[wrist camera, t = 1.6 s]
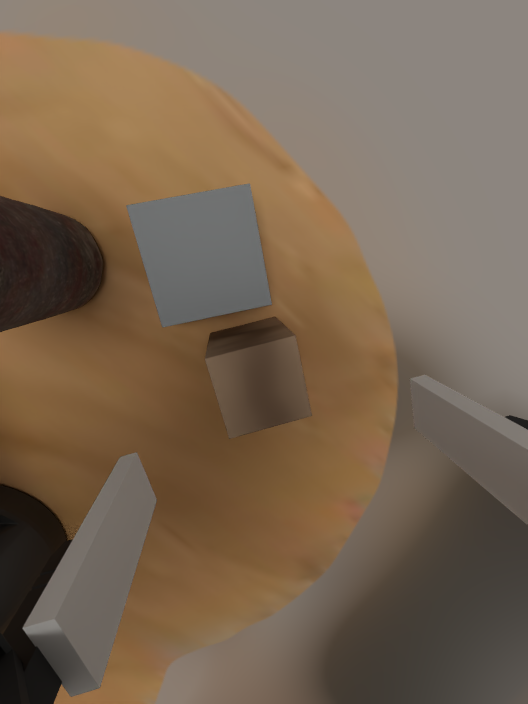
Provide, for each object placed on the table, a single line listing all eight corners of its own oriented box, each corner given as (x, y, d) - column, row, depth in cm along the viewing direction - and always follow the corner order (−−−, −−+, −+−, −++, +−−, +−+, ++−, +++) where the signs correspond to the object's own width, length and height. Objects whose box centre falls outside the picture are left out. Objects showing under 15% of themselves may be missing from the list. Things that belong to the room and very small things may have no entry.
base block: (173, 316, 26) (162, 327, 21) (146, 218, 23) (126, 205, 19) (263, 298, 26) (271, 304, 21) (244, 200, 24) (250, 183, 19)
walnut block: (227, 392, 28) (229, 438, 20) (210, 333, 26) (204, 359, 19) (288, 376, 28) (311, 415, 21) (275, 316, 27) (295, 335, 19)
